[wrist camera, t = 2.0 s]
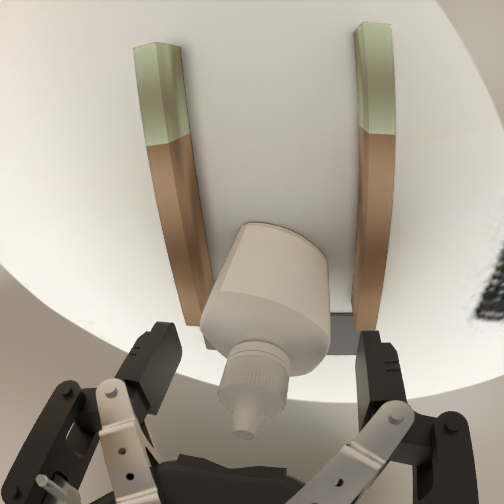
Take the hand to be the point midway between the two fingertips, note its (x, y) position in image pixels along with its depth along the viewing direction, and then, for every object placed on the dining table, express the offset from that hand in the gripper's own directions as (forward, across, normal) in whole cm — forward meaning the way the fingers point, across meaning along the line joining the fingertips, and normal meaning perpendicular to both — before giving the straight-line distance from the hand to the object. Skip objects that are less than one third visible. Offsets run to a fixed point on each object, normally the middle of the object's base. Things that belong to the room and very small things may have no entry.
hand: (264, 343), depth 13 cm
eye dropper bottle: (+8, 0, 0) cm, 8 cm away
